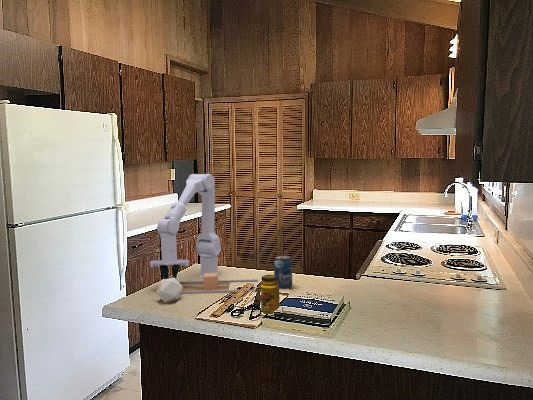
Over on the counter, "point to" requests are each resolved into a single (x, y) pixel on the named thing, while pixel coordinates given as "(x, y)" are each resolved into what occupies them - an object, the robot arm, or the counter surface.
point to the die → (169, 290)
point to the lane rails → (215, 291)
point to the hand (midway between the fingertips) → (170, 284)
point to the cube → (210, 280)
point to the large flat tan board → (201, 287)
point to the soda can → (283, 271)
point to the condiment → (269, 294)
